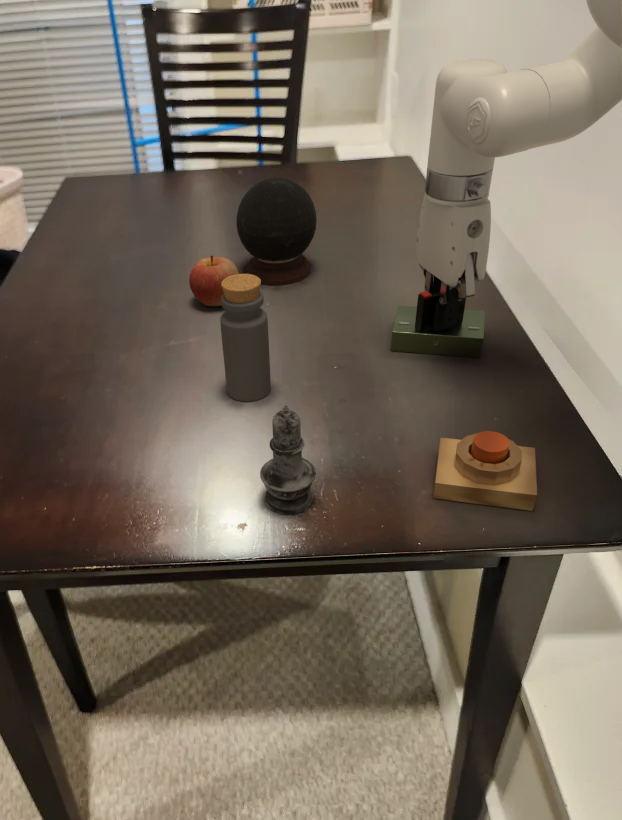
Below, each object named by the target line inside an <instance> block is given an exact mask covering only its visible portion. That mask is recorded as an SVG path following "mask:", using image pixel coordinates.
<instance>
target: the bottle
mask: <svg viewBox="0 0 622 820" xmlns="http://www.w3.org/2000/svg"><path fill="white" fill-rule="evenodd" d="M261 285H262V284H261V280H260V278H259V277H257V276H255V275H252V274H246V273H239V274H236V275H231V276H229V277H227V278H225V279H224V280H223V281H222V283H221V286H222V289H223V292H224V294H223V295H222V297H221V303H222V306H221V307H222V308H223V309H224V311H222V313H221V315H220V316H219V317H220V318H219V321H220V322H219V323H220V334H221V345H222V354H223V355H222V357H223V363H224V364H223V365H224V375H225V385H226V392H227V394H228V396H229V397H230V398H231V399H233V400H235V401H239V402H255V401H259V400H262V399H263V398H265V397H266V396H268V395H269V393H271V387H272V386H271V385H272V384H271V359H270V337H269V320H268V314H267V312H266V311H265V310H264V309H263V308H262V306H263V305H264V302H265V301H264V294H263V293H264V292H262V291H261Z"/></svg>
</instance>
